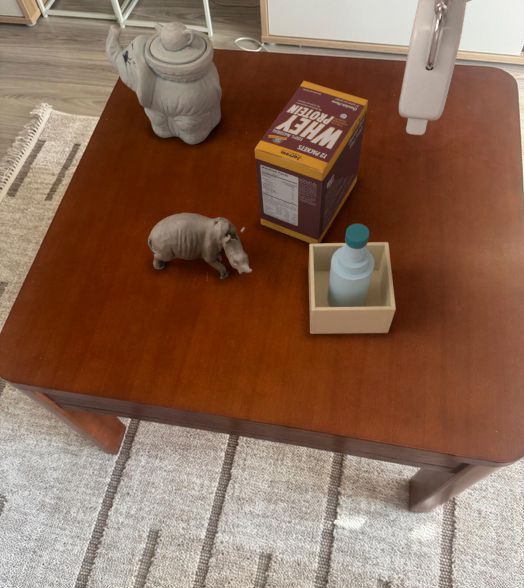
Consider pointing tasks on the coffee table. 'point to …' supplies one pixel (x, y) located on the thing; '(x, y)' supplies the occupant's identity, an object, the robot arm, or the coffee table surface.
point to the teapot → (171, 79)
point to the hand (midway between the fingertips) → (421, 98)
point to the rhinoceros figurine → (197, 241)
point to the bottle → (351, 270)
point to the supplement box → (310, 161)
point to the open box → (350, 319)
